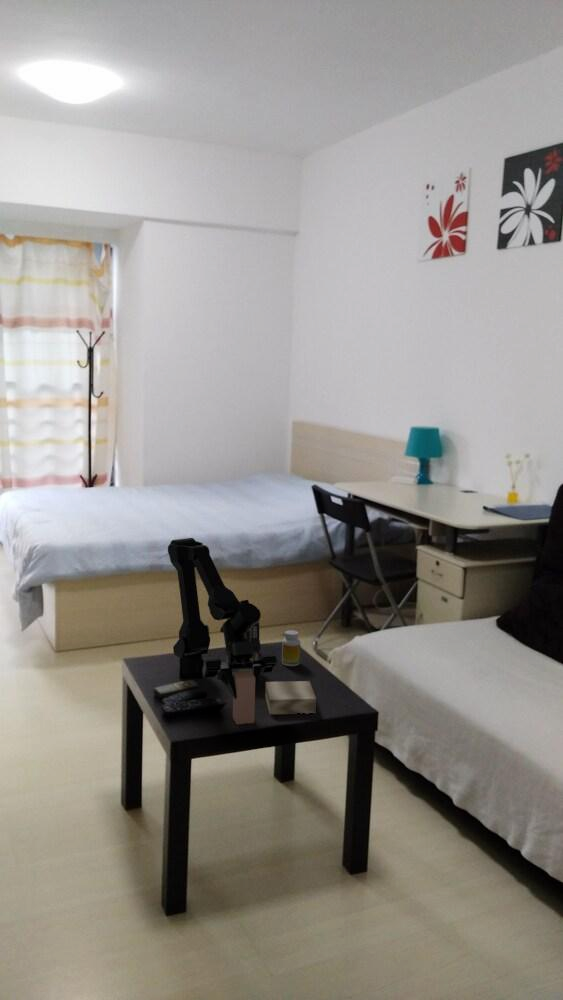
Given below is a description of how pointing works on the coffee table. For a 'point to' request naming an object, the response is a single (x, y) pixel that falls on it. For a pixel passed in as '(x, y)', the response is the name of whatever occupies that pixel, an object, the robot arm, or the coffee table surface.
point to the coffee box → (249, 635)
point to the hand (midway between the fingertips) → (245, 697)
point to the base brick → (290, 697)
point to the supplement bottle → (291, 649)
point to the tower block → (244, 697)
